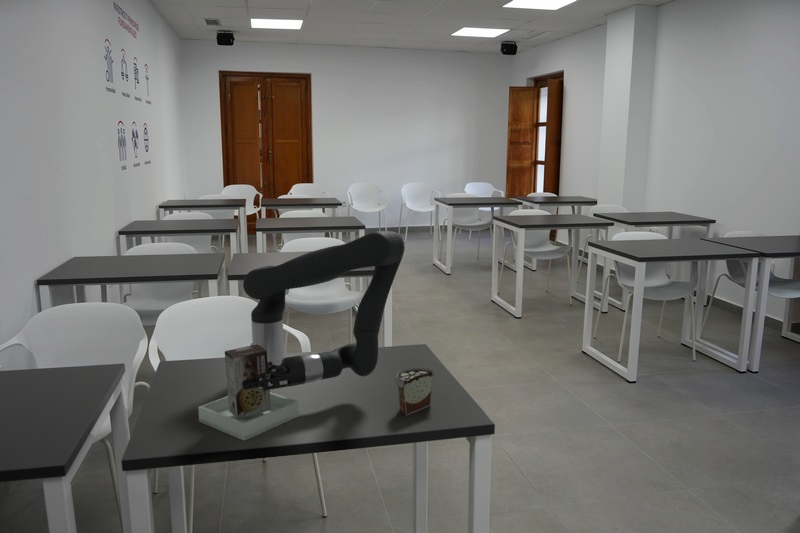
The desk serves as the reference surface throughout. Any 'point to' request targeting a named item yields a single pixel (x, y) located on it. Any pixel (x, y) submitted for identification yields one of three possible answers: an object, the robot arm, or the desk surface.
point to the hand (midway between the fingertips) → (239, 380)
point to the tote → (248, 417)
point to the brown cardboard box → (246, 367)
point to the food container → (414, 389)
